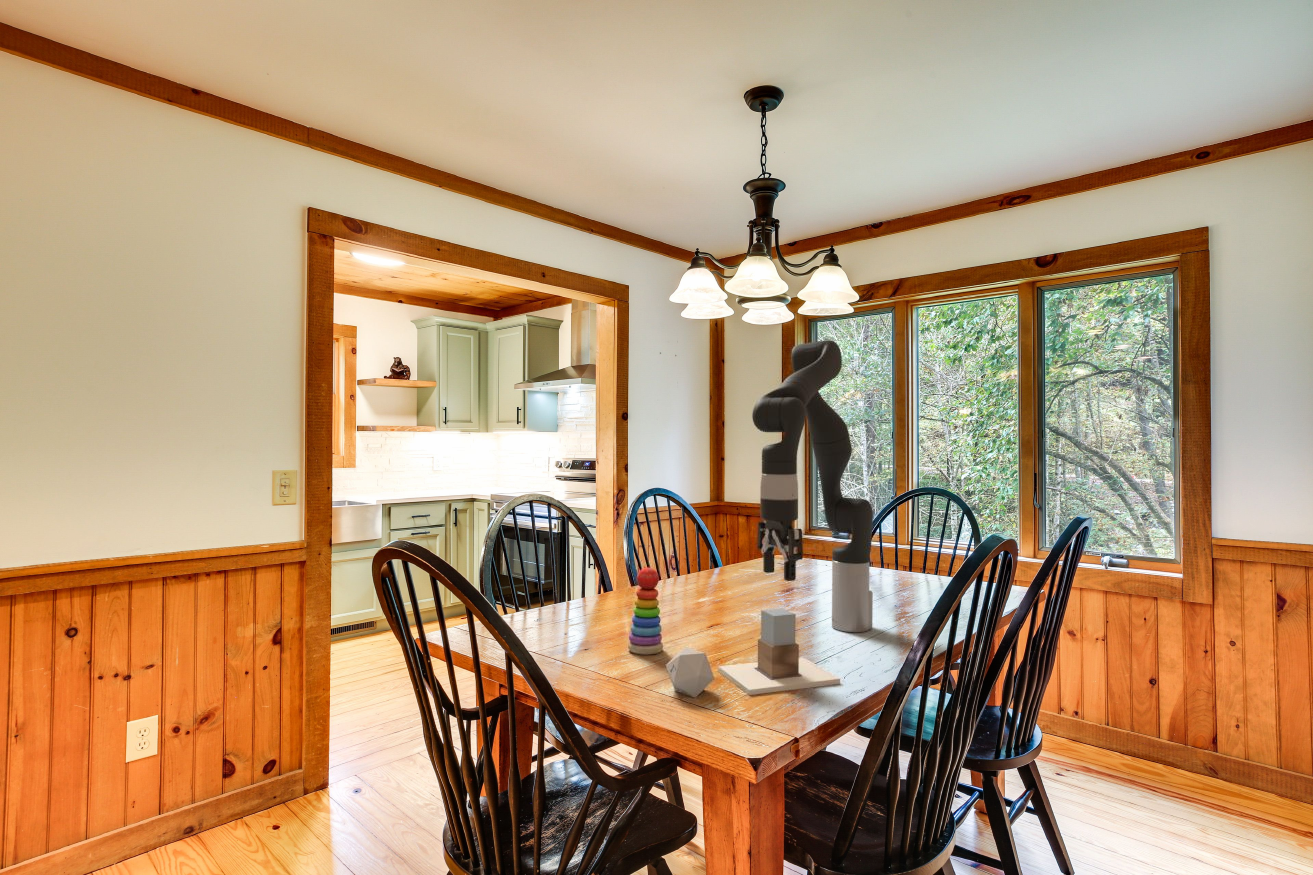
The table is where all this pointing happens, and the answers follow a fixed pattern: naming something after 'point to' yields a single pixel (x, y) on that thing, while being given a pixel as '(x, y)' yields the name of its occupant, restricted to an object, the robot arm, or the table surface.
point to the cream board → (777, 678)
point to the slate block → (778, 627)
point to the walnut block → (778, 659)
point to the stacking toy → (646, 616)
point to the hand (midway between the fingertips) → (779, 576)
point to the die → (690, 672)
